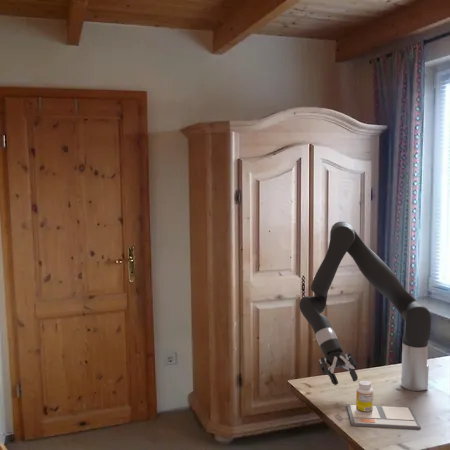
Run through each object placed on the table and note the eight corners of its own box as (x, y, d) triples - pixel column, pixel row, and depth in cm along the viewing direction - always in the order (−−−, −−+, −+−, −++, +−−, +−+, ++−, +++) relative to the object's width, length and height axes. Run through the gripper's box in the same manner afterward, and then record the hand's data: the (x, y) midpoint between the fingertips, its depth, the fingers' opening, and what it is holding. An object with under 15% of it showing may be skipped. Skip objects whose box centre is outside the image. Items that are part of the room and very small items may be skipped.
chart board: (410, 409, 178) (410, 406, 178) (420, 429, 164) (420, 425, 164) (346, 406, 181) (346, 403, 181) (351, 425, 167) (351, 422, 167)
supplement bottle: (360, 405, 179) (361, 378, 178) (375, 410, 175) (376, 382, 174) (353, 411, 174) (353, 383, 173) (368, 416, 171) (369, 387, 170)
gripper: (316, 340, 187) (334, 381, 178) (348, 335, 193) (366, 375, 184) (308, 349, 193) (325, 389, 184) (339, 344, 198) (357, 383, 189)
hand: (346, 382), depth 184 cm, fingers open, 8 cm apart
